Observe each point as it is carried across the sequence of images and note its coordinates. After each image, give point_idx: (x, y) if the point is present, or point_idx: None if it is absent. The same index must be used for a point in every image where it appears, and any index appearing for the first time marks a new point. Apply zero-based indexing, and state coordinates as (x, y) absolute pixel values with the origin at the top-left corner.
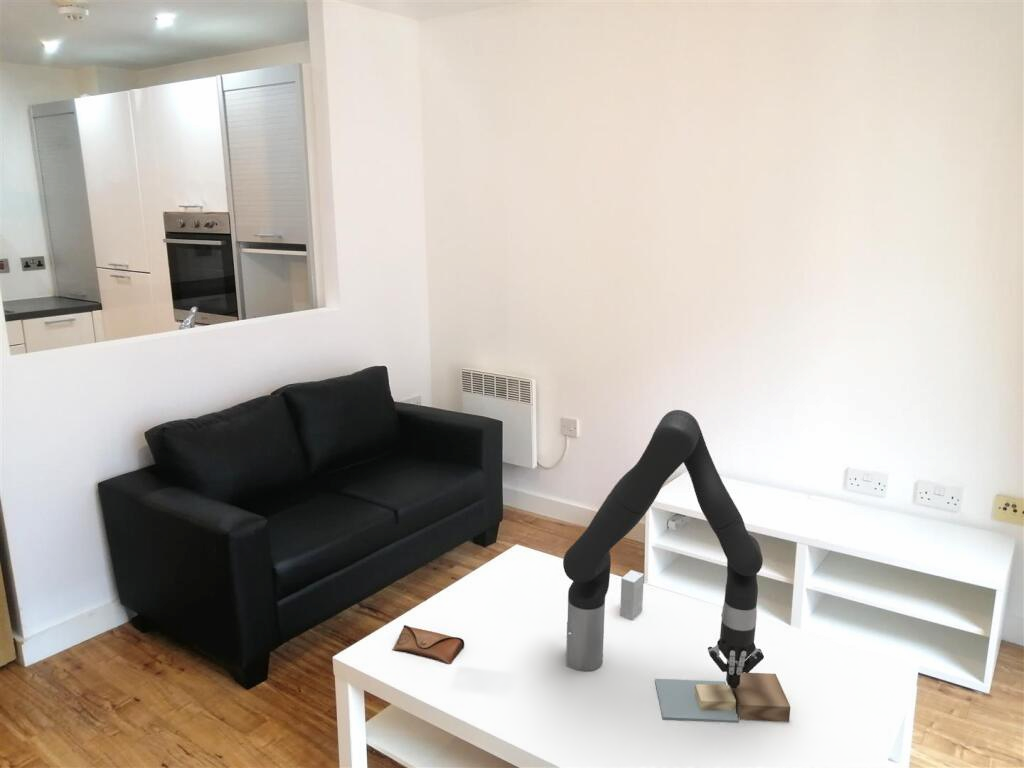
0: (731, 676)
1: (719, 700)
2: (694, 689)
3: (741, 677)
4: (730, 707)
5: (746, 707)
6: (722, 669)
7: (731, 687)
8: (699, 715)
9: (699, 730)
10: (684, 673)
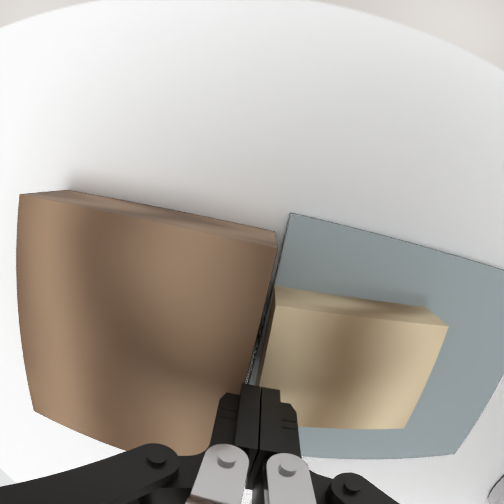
0: (281, 443)
1: (365, 322)
2: None
3: (175, 441)
4: (301, 295)
5: (242, 237)
6: (362, 488)
7: (273, 389)
8: (445, 275)
9: (468, 200)
10: None
